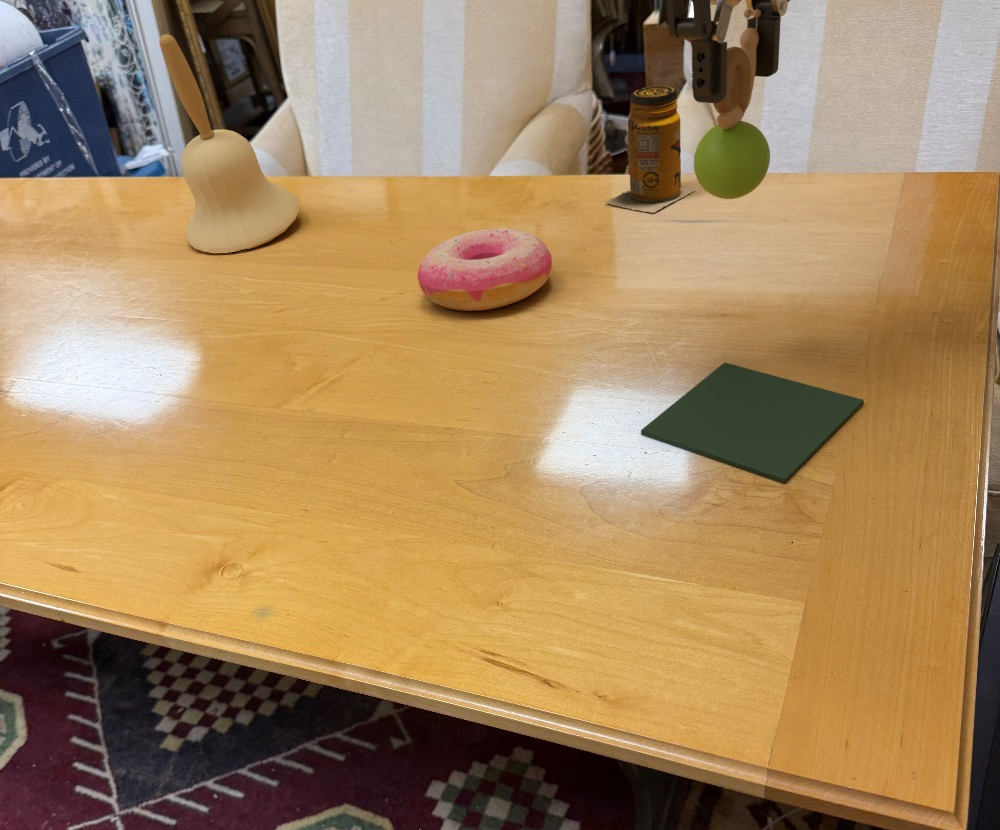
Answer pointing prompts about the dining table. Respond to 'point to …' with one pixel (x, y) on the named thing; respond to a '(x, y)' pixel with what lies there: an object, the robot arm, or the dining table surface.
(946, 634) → the dining table surface
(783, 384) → the mat
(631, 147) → the condiment
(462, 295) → the donut
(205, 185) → the handbell
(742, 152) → the snail figurine
